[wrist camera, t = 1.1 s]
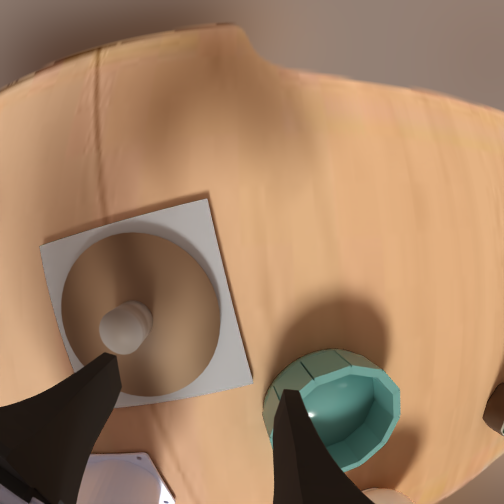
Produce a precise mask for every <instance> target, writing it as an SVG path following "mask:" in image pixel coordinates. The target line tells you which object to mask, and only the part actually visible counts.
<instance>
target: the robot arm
mask: <svg viewBox="0 0 504 504" xmlns="http://www.w3.org/2000/svg"><path fill="white" fill-rule="evenodd" d="M121 389H122V383H121V378H120V373H119V367H118V362H117V356H116V355H113V354H110V353H106V352H104V353H102V354H101V355H99V356H98V357H97V358H95V359H94V360H92V361H91V362H90V363H88V364H87V365H85V366H84V367H83V368H81V369H80V370H78V371H77V372H75V373H74V374H72V375H71V376H70V377H68V378H66V379H65V380H63V381H62V382H60V383H58V384H57V385H55V386H53V387H52V388H50V389H48V390H46V391H44V392H42V393H40V394H38V395H36V396H33V397H31V398H28V399H25V400H23V401H20V402H17V403H14V404H11V405H7V406H3V407H0V504H175V499H174V497H173V496H172V494H171V492H170V491H169V489H168V488H167V486H166V484H165V483H164V481H163V479H162V478H161V476H160V474H159V473H158V471H157V469H156V467H155V466H154V464H153V462H152V460H151V458H150V457H149V455H148V454H147V453H144V452H141V453H123V454H91V451H92V448H93V446H94V444H95V442H96V440H97V438H98V436H99V434H100V432H101V430H102V429H103V427H104V425H105V423H106V421H107V419H108V418H109V416H110V414H111V412H112V410H113V408H114V406H115V404H116V402H117V399H118V397H119V394H120V391H121ZM139 457H141V458H139ZM273 462H274V497H273V504H375V503H374V502H373V501H372V500H370V499H369V498H368V497H367V496H366V495H365V494H364V493H363V492H362V491H360V490H359V489H358V487H357V486H356V485H355V484H354V483H353V482H352V481H351V480H350V479H349V478H348V477H347V476H346V475H345V473H344V472H343V471H342V470H341V468H340V467H339V466H338V464H337V463H336V462H335V460H334V459H333V458H332V456H331V455H330V453H329V452H328V450H327V448H326V447H325V445H324V443H323V442H322V440H321V438H320V436H319V435H318V433H317V431H316V429H315V427H314V425H313V423H312V421H311V419H310V416H309V414H308V412H307V410H306V407H305V405H304V402H303V399H302V397H301V394H300V392H299V391H298V390H291V389H283V392H282V396H281V399H280V402H279V405H278V408H277V411H276V414H275V416H274V425H273Z"/></svg>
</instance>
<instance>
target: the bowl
mask: <svg viewBox="0 0 504 504" xmlns="http://www.w3.org/2000/svg"><path fill="white" fill-rule="evenodd" d="M283 389H291V390H298V391H299V392H300V394H301V397H302V399H303V402H304V405H305V407H306V410H307V412H308V414H309V416H310V419H311V421H312V423H313V425H314V427H315V429H316V431H317V433H318V435H319V436H320V438H321V440H322V442H323V443H324V445H325V447H326V448H327V450H328V452H329V453H330V455H331V456H332V458H333V459H334V460H335V462H336V463H337V464H338V466H339V467H340V468H341V470H342V471H343V472H346V471H348V470H351V469H353V468H356V467H358V466H361V465H360V464H363V463H364V462H366V461H367V460H368V459H369V458H370V457H372V456H373V455H374V454H375V453H376V452H377V451H378V450H379V449H381V448H382V447H383V446H384V445H385V443H387V441H388V439H389V437H390V435H391V434H392V432H393V430H394V428H395V426H396V424H397V422H398V420H399V418H400V390H399V388H398V386H397V385H396V384H395V383H394V382H393V381H392V380H391V378H390V377H389V376H388V375H387V374H386V373H385V372H384V370H382V369H381V368H379V367H378V366H377V365H375V364H374V363H372V362H371V361H370V360H368V359H367V358H365V357H364V356H362V355H359V354H356V353H353V352H351V351H347V350H343V349H325V350H319V351H316V352H312V353H310V354H307V355H305V356H303V357H301V358H299V359H297V360H296V361H294V362H292V363H291V364H290V365H288V366H287V367H286V368H285V369H284V370H283V371H282V372H281V373H280V374H279V375H278V376H277V377H276V378H275V380H274V381H273V382H272V384H271V386H270V387H269V389H268V391H267V394H266V396H265V400H264V404H263V412H262V415H263V419H264V423H265V426H266V429H267V433H268V436H269V439H270V443H271V446H272V449H273V425H274V416H275V414H276V411H277V408H278V405H279V402H280V399H281V396H282V392H283Z"/></svg>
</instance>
